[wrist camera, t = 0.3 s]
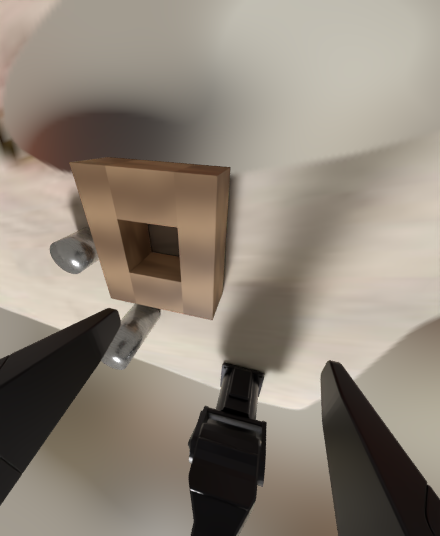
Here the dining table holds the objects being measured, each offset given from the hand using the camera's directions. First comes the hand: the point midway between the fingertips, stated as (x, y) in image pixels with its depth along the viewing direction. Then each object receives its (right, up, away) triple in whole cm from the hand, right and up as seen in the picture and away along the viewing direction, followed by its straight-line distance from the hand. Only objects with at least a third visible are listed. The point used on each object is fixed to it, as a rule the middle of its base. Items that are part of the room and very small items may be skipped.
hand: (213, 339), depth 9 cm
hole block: (-5, +7, +14) cm, 17 cm away
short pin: (-16, +6, +18) cm, 25 cm away
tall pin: (-10, -3, +22) cm, 25 cm away
